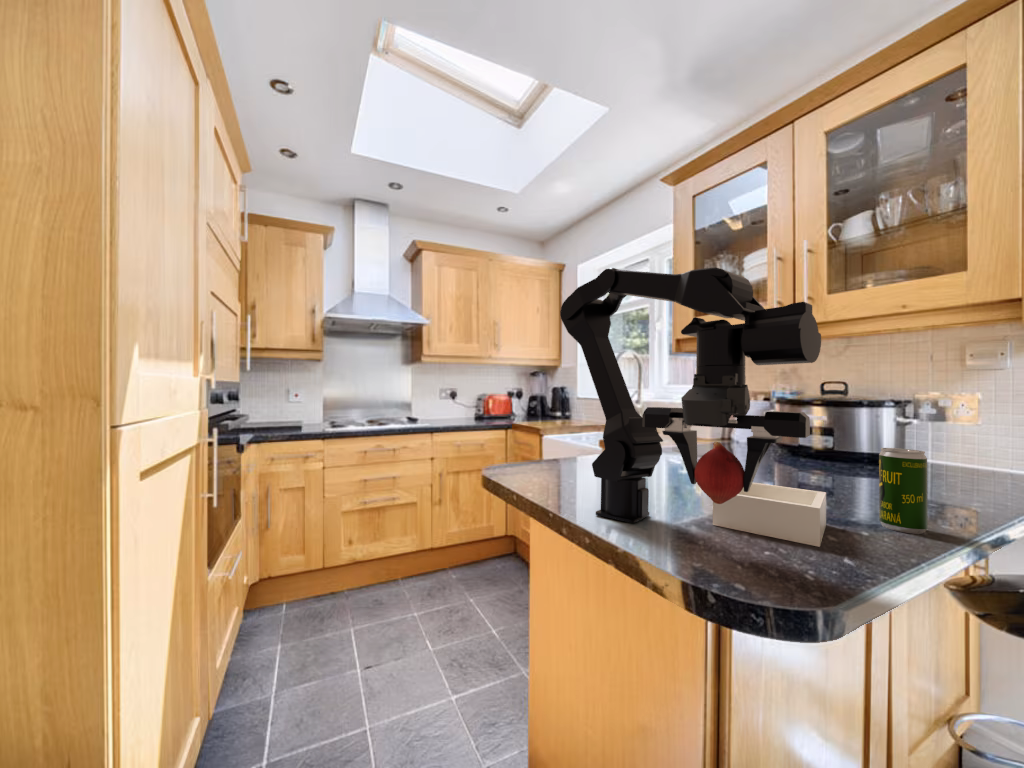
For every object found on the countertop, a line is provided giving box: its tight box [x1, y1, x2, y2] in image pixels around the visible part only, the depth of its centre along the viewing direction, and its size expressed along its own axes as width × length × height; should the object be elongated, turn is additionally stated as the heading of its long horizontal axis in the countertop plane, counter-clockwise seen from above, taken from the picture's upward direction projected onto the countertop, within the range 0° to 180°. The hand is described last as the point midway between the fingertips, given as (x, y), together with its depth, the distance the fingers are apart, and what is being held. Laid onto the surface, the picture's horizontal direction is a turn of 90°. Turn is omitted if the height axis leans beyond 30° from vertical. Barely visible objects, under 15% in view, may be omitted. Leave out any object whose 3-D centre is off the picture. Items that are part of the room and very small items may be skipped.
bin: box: [712, 481, 827, 548], centre depth 63 cm, size 13×13×5 cm
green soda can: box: [878, 447, 929, 535], centre depth 63 cm, size 5×5×12 cm
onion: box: [694, 441, 745, 504], centre depth 53 cm, size 6×6×8 cm
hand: (719, 487), depth 53 cm, fingers closed on onion, 6 cm apart
